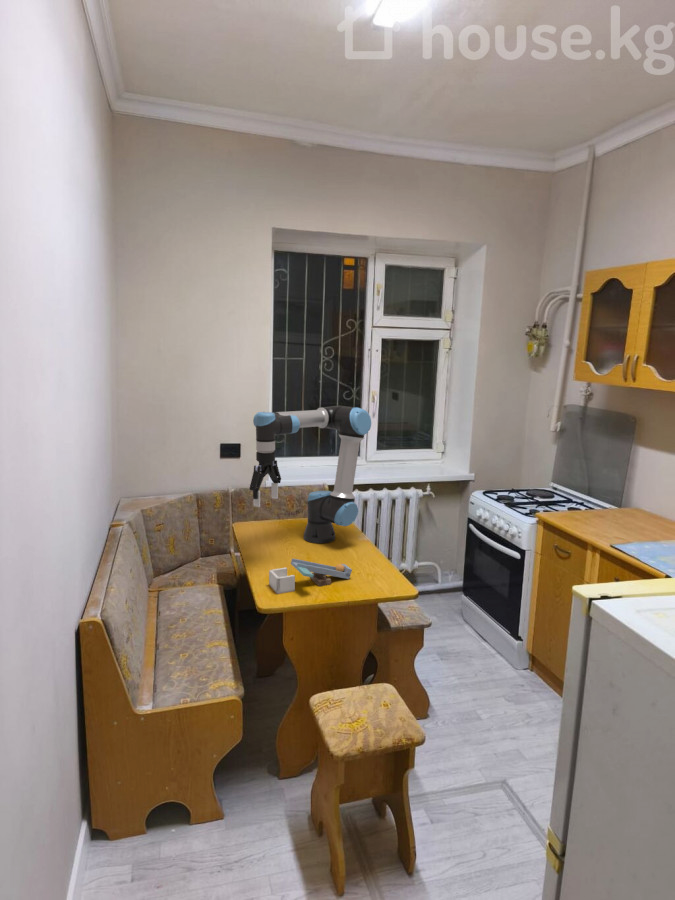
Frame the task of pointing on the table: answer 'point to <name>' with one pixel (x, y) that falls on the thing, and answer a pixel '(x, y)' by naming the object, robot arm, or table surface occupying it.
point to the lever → (319, 569)
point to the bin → (281, 581)
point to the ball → (340, 568)
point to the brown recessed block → (321, 579)
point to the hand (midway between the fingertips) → (266, 502)
